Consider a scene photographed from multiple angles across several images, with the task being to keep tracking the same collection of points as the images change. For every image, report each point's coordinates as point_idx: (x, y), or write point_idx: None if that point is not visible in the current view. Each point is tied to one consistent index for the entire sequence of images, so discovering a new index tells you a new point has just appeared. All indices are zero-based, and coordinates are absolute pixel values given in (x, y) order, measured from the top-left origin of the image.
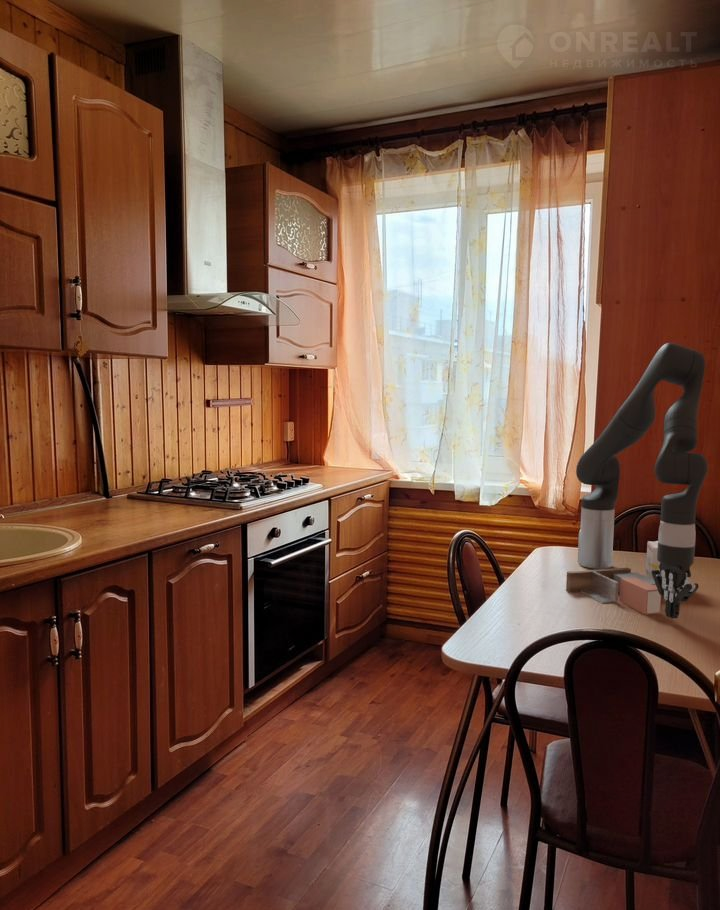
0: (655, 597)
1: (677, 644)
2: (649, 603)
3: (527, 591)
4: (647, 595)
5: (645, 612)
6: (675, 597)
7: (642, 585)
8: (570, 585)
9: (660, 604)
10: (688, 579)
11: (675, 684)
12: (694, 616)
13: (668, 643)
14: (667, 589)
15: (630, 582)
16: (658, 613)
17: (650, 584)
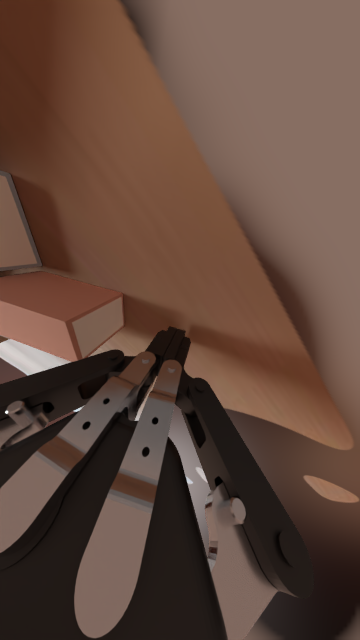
0: (93, 327)
1: (260, 406)
2: (107, 332)
3: (31, 367)
4: (92, 352)
5: (121, 328)
6: (182, 412)
7: (35, 337)
8: (6, 338)
9: (106, 301)
10: (236, 622)
11: (327, 489)
12: (164, 221)
13: (246, 409)
14: (135, 416)
15: (15, 339)
16: (122, 297)
17: (18, 308)
